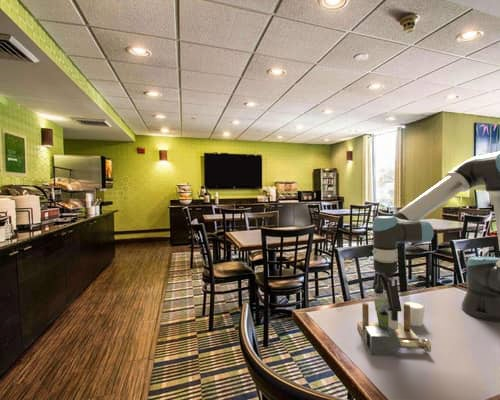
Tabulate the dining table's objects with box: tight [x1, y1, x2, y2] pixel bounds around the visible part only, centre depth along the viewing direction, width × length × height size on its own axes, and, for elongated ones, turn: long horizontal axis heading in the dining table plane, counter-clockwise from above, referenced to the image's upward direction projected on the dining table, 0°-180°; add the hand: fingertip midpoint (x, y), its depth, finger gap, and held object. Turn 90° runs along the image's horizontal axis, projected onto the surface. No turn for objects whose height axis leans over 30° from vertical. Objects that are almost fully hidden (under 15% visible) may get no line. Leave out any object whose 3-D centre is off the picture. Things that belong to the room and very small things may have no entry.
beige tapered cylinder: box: [403, 300, 425, 327], centre depth 102 cm, size 7×7×7 cm
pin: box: [398, 338, 432, 353], centre depth 84 cm, size 10×4×4 cm, turn 83°
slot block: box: [365, 326, 400, 358], centre depth 85 cm, size 8×6×6 cm
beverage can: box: [373, 293, 396, 331], centre depth 93 cm, size 6×7×12 cm
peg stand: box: [356, 302, 420, 342], centre depth 93 cm, size 17×10×11 cm, turn 83°
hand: (385, 319), depth 94 cm, fingers open, 12 cm apart
